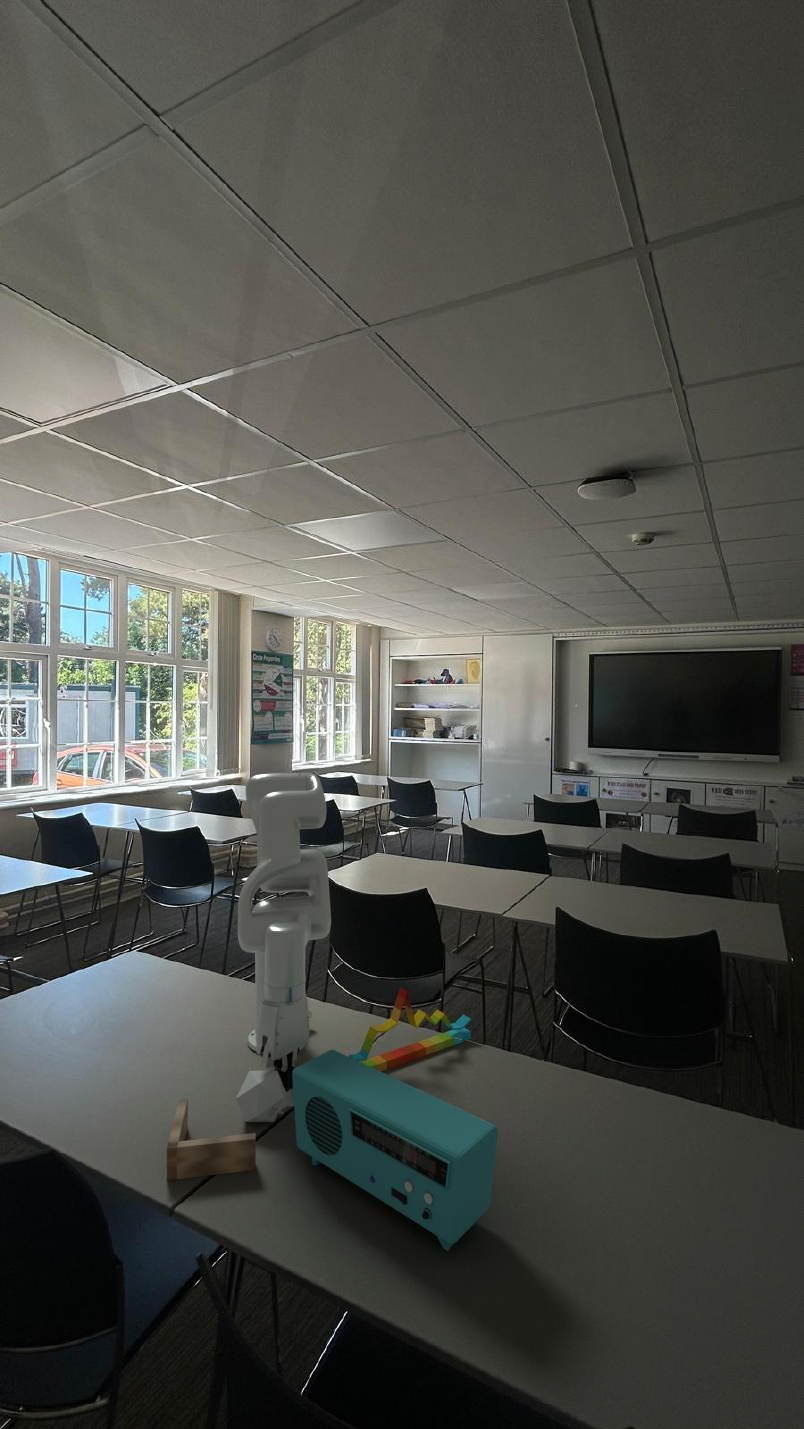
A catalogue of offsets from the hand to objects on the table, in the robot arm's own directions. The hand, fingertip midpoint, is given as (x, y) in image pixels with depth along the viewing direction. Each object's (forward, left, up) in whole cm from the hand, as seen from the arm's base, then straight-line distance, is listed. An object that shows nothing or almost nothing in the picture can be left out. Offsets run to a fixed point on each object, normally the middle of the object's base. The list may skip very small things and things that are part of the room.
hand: (284, 1087), depth 126 cm
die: (+6, 0, -3) cm, 6 cm away
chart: (-28, +10, -3) cm, 30 cm away
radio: (+9, +30, -3) cm, 31 cm away
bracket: (+21, 0, -3) cm, 21 cm away
